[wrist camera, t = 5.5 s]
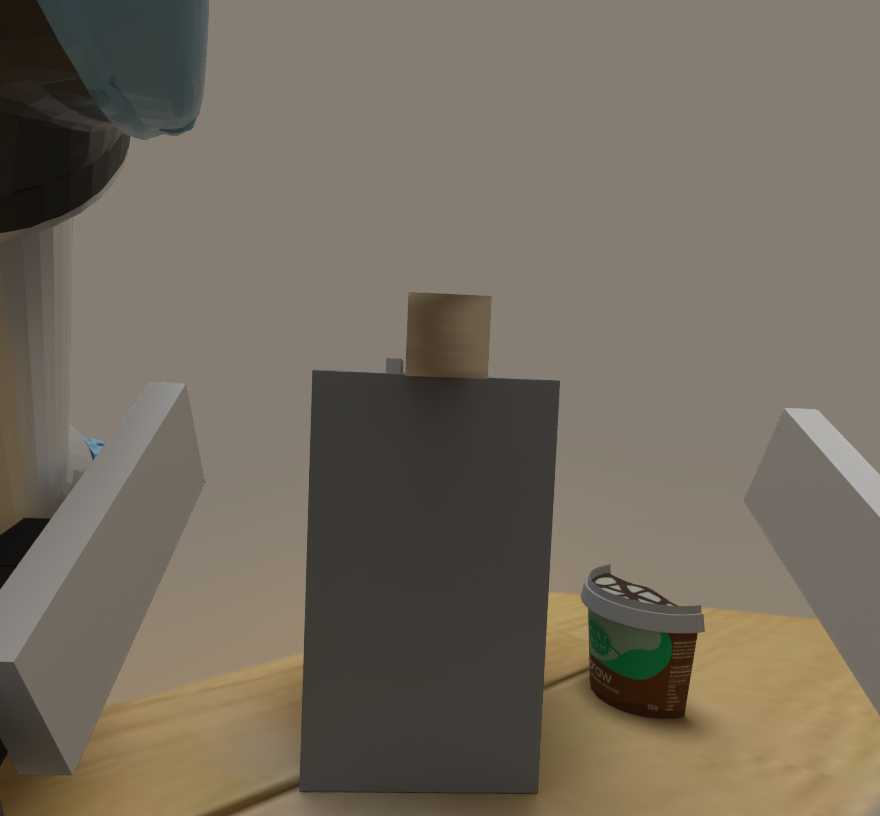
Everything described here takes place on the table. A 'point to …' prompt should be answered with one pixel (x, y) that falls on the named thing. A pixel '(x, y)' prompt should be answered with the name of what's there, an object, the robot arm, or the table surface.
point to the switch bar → (448, 335)
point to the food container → (639, 646)
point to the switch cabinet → (426, 581)
